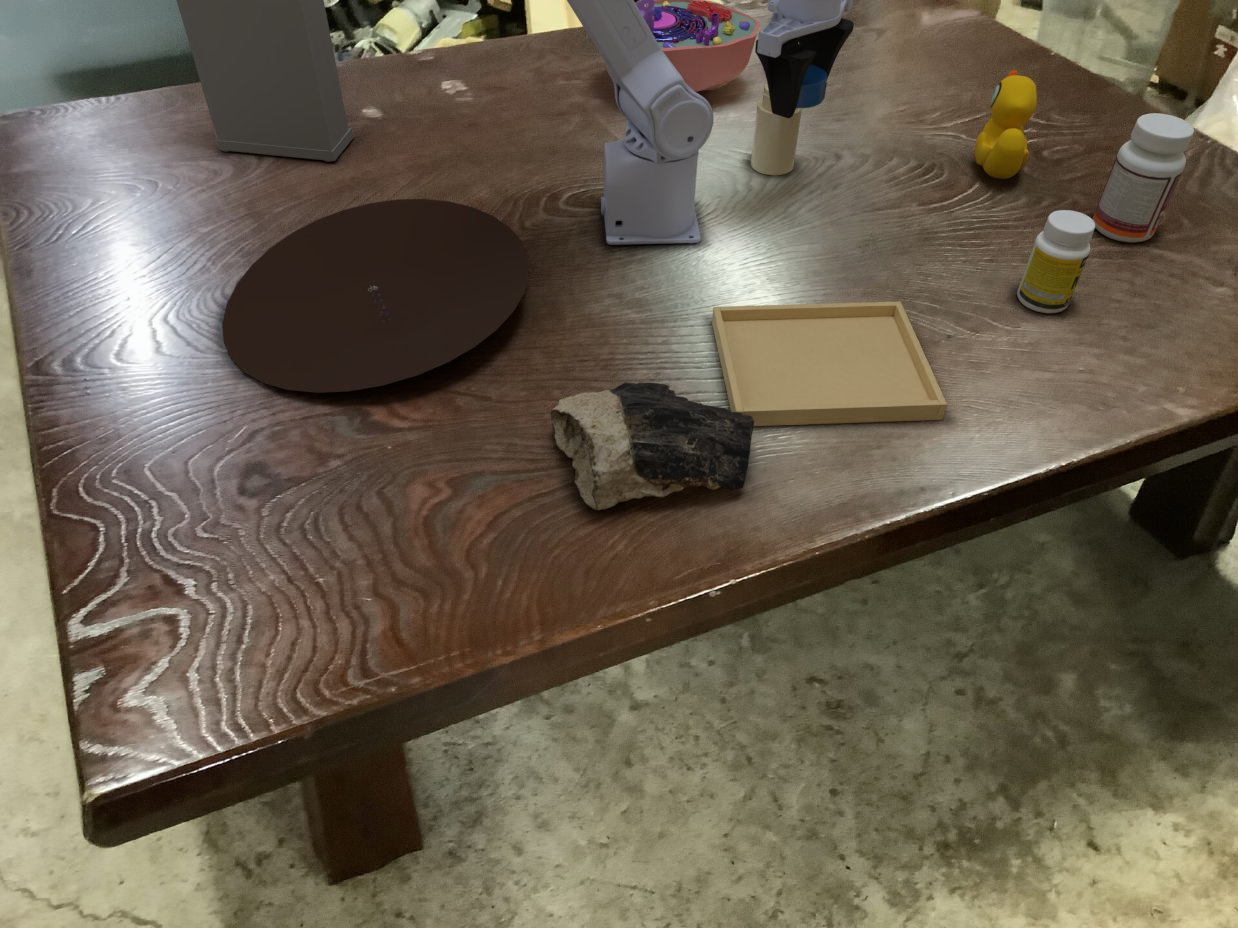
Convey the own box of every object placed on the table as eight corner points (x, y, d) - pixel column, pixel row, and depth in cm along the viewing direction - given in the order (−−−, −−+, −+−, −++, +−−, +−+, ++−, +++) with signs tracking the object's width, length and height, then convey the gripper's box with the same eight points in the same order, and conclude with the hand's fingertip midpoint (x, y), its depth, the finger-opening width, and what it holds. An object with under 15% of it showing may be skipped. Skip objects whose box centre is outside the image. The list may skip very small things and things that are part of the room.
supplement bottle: (1071, 318, 90) (1103, 238, 84) (1018, 311, 91) (1046, 232, 85) (1065, 288, 94) (1096, 210, 88) (1013, 282, 94) (1041, 204, 88)
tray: (734, 427, 79) (736, 411, 78) (711, 321, 89) (713, 306, 88) (942, 419, 80) (947, 404, 79) (897, 316, 90) (900, 301, 89)
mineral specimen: (535, 365, 75) (715, 316, 78) (547, 435, 80) (715, 386, 83) (587, 472, 66) (788, 412, 69) (596, 544, 71) (783, 485, 74)
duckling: (967, 142, 115) (991, 57, 108) (1015, 147, 114) (1042, 61, 107) (972, 190, 107) (998, 101, 100) (1023, 195, 106) (1053, 106, 99)
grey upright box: (354, 138, 114) (309, -102, 96) (335, 163, 110) (283, -83, 92) (243, 128, 115) (178, -110, 98) (219, 152, 111) (146, -92, 94)
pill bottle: (1125, 209, 104) (1168, 106, 96) (1166, 238, 100) (1215, 134, 92) (1077, 219, 103) (1117, 115, 95) (1118, 249, 99) (1162, 144, 91)
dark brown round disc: (204, 260, 96) (193, 227, 93) (479, 204, 104) (476, 172, 101) (247, 442, 77) (234, 407, 75) (576, 357, 86) (575, 323, 83)
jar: (755, 176, 108) (764, 97, 102) (746, 155, 112) (755, 78, 106) (797, 174, 109) (809, 95, 103) (788, 154, 112) (799, 76, 106)
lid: (828, 89, 98) (831, 66, 97) (820, 111, 95) (823, 88, 93) (777, 83, 100) (779, 60, 98) (767, 104, 96) (769, 81, 95)
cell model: (759, 121, 118) (770, 24, 110) (593, 118, 118) (592, 22, 110) (748, 63, 130) (757, -28, 122) (597, 61, 130) (597, -30, 122)
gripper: (816, -71, 94) (798, 69, 104) (734, -28, 86) (723, 120, 96) (882, -56, 91) (858, 86, 101) (804, -10, 83) (786, 140, 93)
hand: (796, 104), depth 98 cm, fingers closed on lid, 5 cm apart
